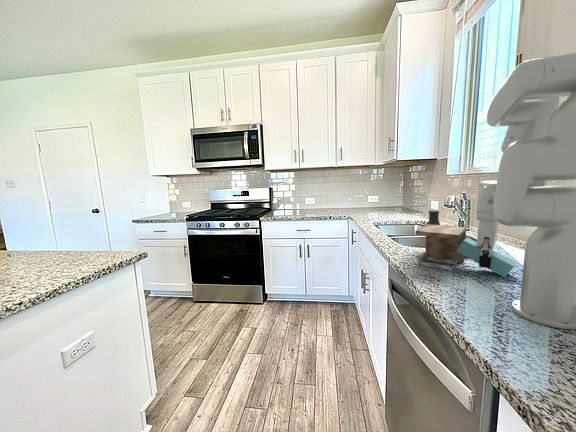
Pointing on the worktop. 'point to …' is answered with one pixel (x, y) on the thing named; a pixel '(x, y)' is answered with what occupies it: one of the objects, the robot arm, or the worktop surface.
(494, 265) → the teal rectangular block
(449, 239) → the overhang shelf
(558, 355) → the worktop surface
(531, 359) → the worktop surface
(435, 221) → the sauce bottle
